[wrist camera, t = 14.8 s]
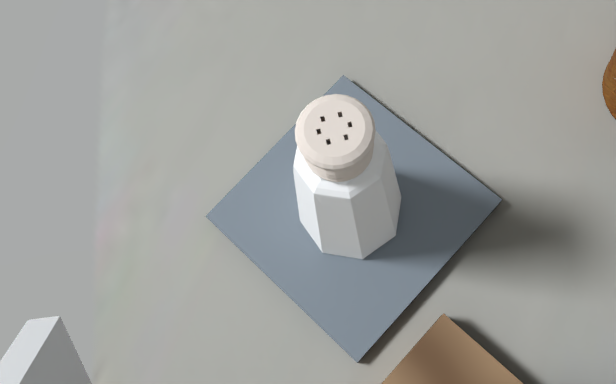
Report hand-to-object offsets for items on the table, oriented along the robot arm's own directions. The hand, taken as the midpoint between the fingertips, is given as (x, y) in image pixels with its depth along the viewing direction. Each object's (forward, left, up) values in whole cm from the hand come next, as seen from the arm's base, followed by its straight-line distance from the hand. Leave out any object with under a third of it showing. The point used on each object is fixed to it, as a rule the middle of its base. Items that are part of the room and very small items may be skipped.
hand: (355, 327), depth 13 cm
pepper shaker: (-4, -5, -16) cm, 18 cm away
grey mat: (-5, -5, -17) cm, 18 cm away
